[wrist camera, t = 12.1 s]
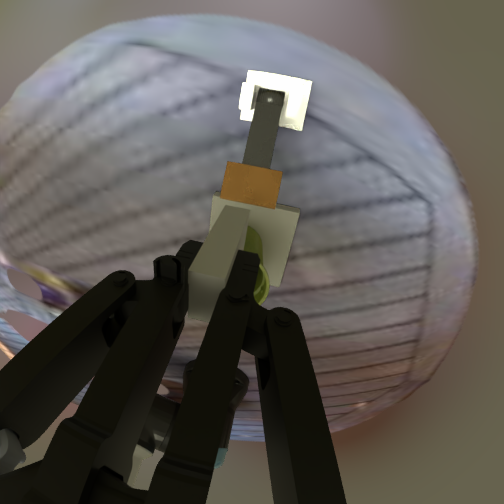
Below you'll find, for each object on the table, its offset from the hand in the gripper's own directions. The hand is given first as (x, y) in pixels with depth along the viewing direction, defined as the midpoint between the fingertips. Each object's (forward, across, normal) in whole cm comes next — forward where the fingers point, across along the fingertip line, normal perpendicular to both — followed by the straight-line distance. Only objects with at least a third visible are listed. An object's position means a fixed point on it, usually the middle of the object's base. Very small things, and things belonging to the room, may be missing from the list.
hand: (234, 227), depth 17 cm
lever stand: (+18, 0, -8) cm, 20 cm away
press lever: (+10, 0, -3) cm, 10 cm away
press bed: (+18, 0, +12) cm, 22 cm away
